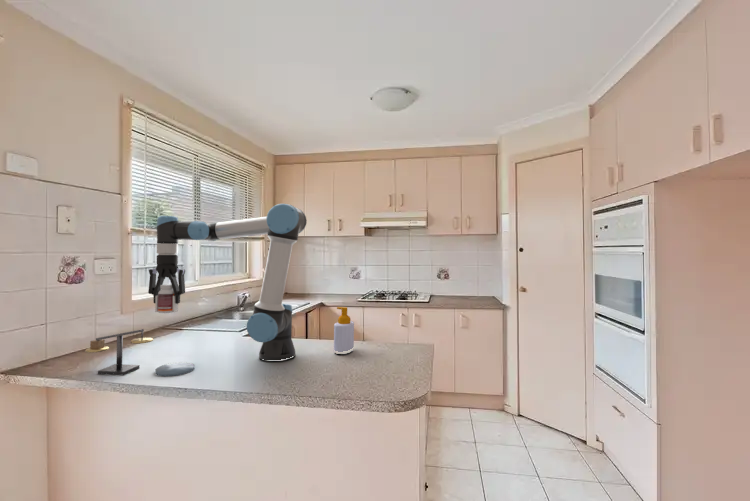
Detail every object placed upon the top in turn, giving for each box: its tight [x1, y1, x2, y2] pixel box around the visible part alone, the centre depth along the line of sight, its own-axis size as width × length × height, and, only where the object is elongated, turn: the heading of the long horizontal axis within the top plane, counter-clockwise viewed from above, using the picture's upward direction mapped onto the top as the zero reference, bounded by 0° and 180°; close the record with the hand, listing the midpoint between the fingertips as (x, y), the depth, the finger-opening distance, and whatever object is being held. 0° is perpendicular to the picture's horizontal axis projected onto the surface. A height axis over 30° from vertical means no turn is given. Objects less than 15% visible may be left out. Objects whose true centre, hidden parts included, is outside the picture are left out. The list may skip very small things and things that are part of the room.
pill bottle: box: [157, 283, 175, 314], centre depth 149 cm, size 6×6×11 cm
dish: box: [155, 361, 195, 377], centre depth 140 cm, size 13×13×1 cm
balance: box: [85, 328, 154, 376], centre depth 138 cm, size 25×8×16 cm, turn 86°
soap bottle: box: [333, 306, 355, 352], centre depth 170 cm, size 13×8×20 cm, turn 162°
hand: (166, 311), depth 149 cm, fingers closed on pill bottle, 6 cm apart
